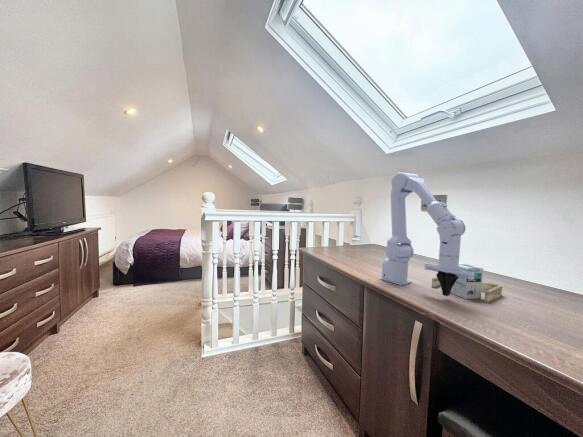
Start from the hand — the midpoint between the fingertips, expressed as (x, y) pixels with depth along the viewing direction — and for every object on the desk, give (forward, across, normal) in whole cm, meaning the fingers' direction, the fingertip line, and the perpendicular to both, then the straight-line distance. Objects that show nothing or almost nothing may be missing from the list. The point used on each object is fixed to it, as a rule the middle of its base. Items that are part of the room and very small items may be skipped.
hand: (446, 295), depth 85 cm
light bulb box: (+2, 0, +11) cm, 12 cm away
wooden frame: (+1, 0, +16) cm, 16 cm away
